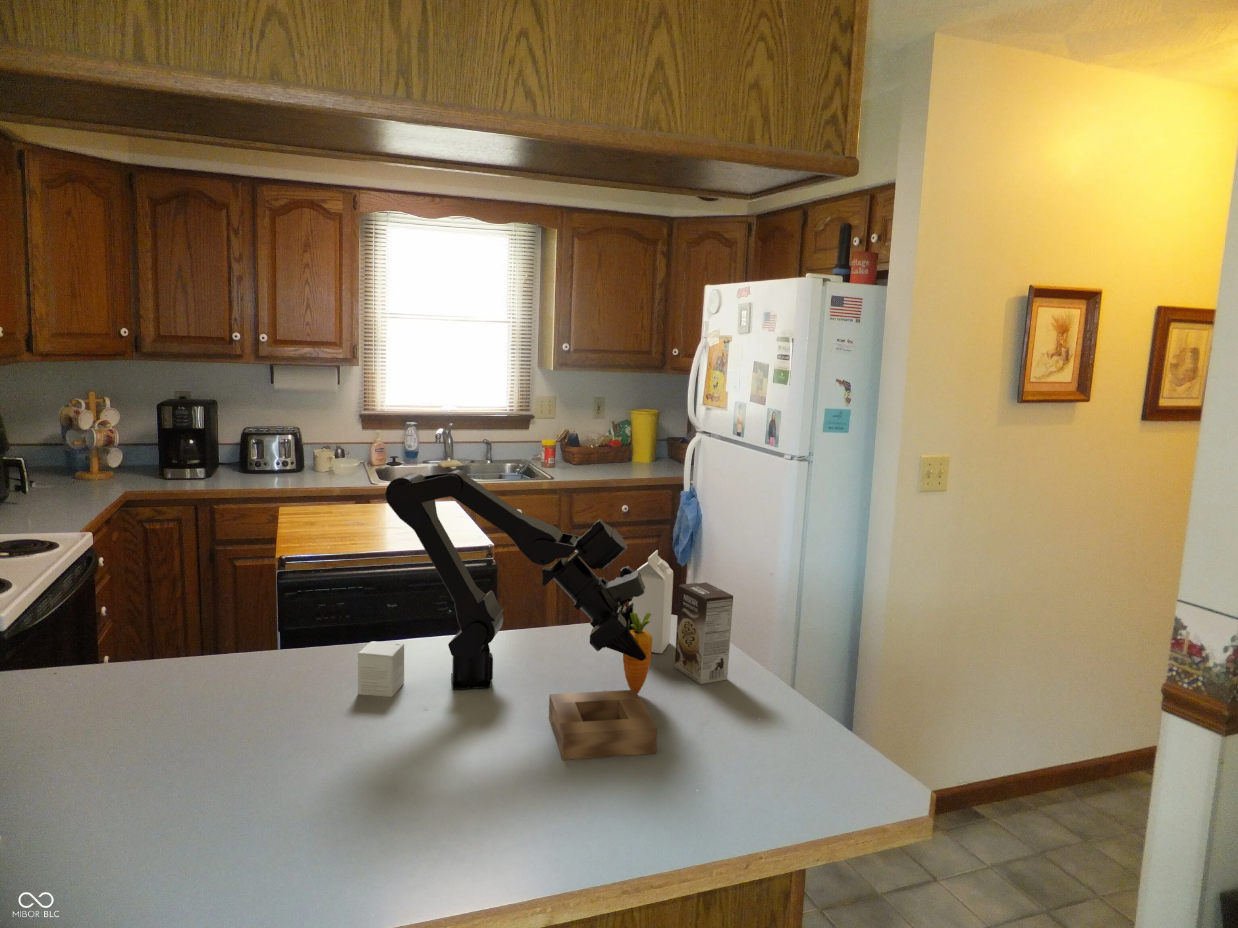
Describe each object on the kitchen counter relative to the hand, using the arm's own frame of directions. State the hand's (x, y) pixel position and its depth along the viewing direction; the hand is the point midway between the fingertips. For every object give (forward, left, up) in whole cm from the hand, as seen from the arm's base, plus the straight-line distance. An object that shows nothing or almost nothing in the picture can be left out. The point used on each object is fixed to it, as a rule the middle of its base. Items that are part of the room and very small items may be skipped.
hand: (645, 653), depth 146 cm
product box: (-44, +8, -8) cm, 45 cm away
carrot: (-1, 0, -8) cm, 8 cm away
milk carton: (+7, +23, -8) cm, 26 cm away
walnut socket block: (-10, -14, -8) cm, 19 cm away
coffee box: (+13, +8, -8) cm, 17 cm away
